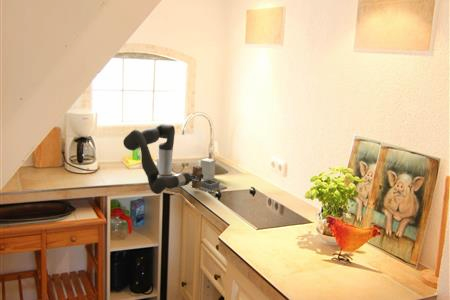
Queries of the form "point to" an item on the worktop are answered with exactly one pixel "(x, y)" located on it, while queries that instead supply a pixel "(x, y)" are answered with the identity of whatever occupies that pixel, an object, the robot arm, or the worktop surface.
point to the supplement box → (208, 168)
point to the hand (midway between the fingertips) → (200, 174)
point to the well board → (211, 185)
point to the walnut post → (196, 171)
